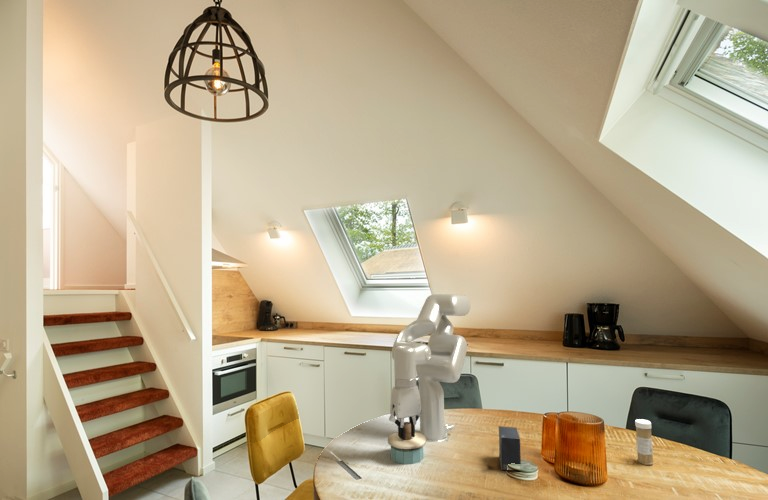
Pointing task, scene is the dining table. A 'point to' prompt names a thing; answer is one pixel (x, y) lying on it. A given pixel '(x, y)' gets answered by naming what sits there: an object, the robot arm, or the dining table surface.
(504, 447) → the small box
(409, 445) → the lid
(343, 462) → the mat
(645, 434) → the sprinkles bottle
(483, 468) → the dining table surface
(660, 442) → the dining table surface
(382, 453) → the dining table surface
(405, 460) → the bowl
